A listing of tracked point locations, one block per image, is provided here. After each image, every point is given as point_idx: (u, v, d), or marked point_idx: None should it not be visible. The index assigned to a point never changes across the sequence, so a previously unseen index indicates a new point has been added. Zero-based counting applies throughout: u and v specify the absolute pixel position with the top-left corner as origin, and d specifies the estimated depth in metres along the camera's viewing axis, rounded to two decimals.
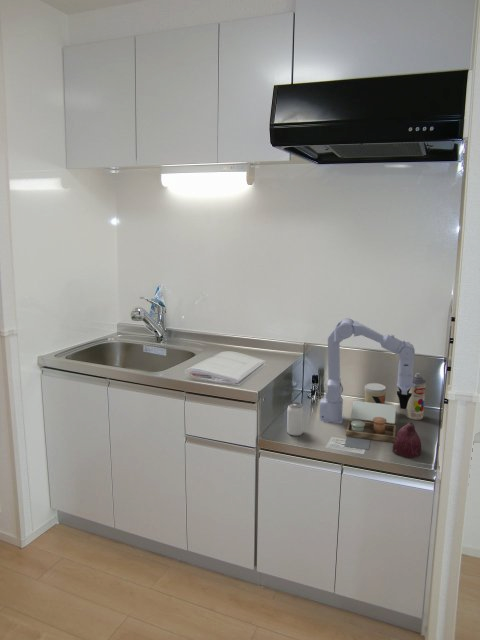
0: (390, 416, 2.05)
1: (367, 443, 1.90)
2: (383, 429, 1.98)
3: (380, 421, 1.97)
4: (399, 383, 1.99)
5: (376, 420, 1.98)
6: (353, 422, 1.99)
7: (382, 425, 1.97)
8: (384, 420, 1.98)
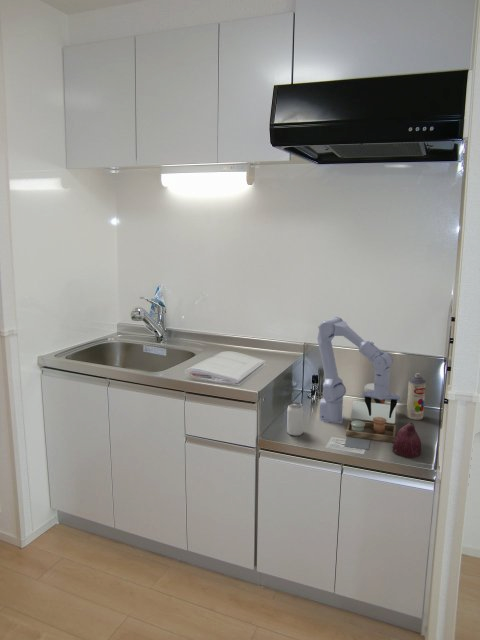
0: None
1: (367, 443, 1.90)
2: (383, 429, 1.98)
3: (380, 421, 1.97)
4: None
5: (376, 420, 1.98)
6: (353, 422, 1.99)
7: (382, 425, 1.97)
8: (384, 420, 1.98)
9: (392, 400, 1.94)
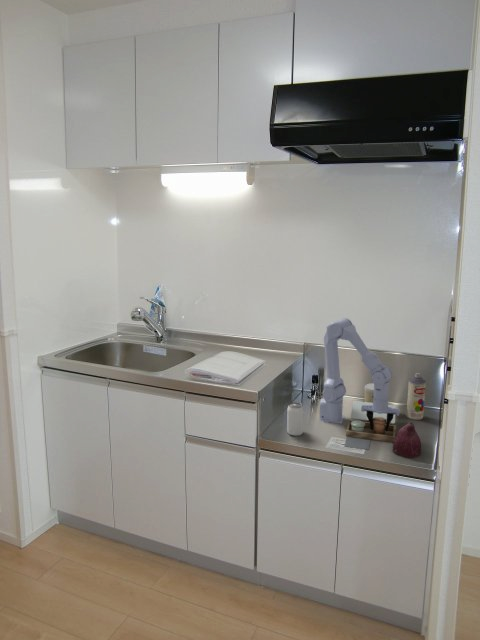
0: None
1: (367, 443, 1.90)
2: (383, 429, 1.98)
3: (380, 421, 1.97)
4: None
5: (376, 420, 1.98)
6: (353, 422, 1.99)
7: (382, 425, 1.97)
8: (384, 420, 1.98)
9: (391, 414, 1.96)
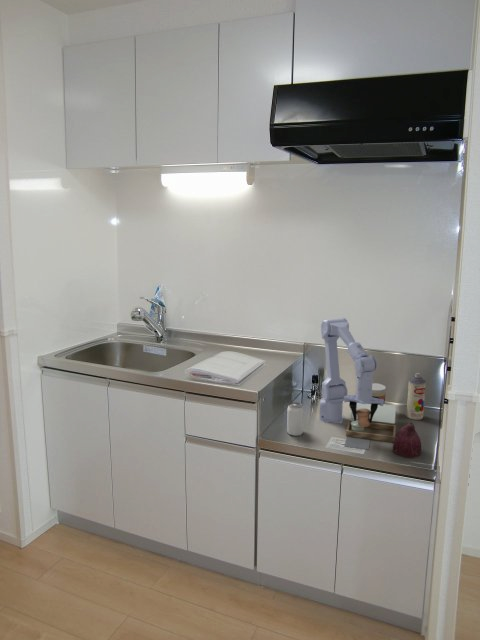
0: (390, 416, 2.05)
1: (367, 443, 1.90)
2: (367, 421, 1.89)
3: (363, 413, 1.89)
4: None
5: (359, 412, 1.90)
6: (353, 422, 1.99)
7: (366, 417, 1.88)
8: (368, 411, 1.89)
9: (375, 404, 1.87)
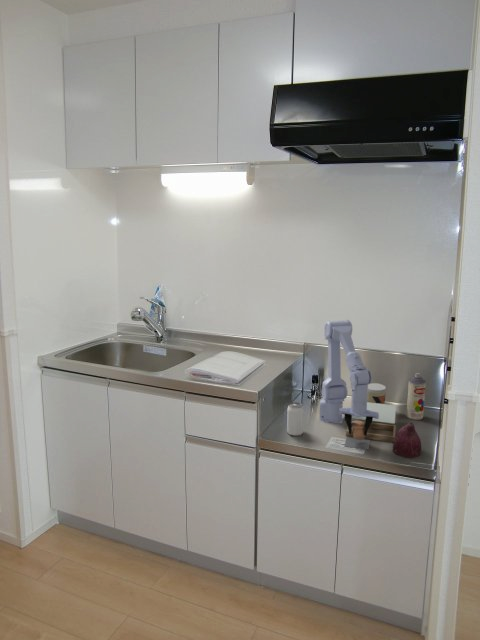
0: (390, 416, 2.05)
1: (367, 443, 1.90)
2: (362, 434, 1.88)
3: (358, 426, 1.88)
4: None
5: (354, 425, 1.89)
6: None
7: (360, 430, 1.88)
8: (363, 424, 1.88)
9: (370, 417, 1.86)
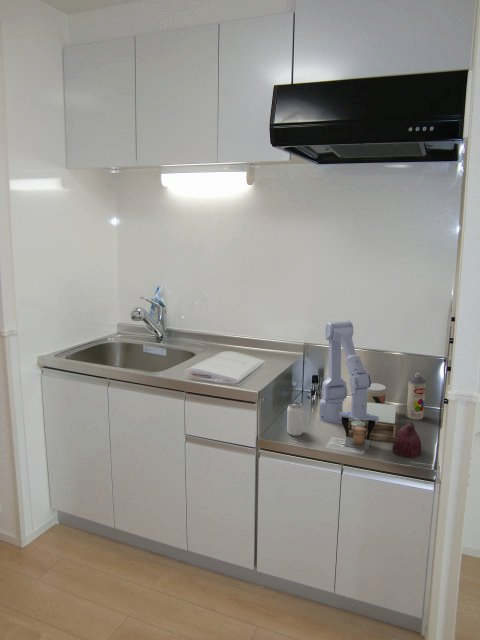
0: (390, 416, 2.05)
1: (367, 443, 1.90)
2: (362, 439, 1.89)
3: (359, 431, 1.88)
4: None
5: (355, 430, 1.89)
6: (353, 422, 1.99)
7: (361, 435, 1.88)
8: (364, 430, 1.89)
9: (370, 421, 1.87)
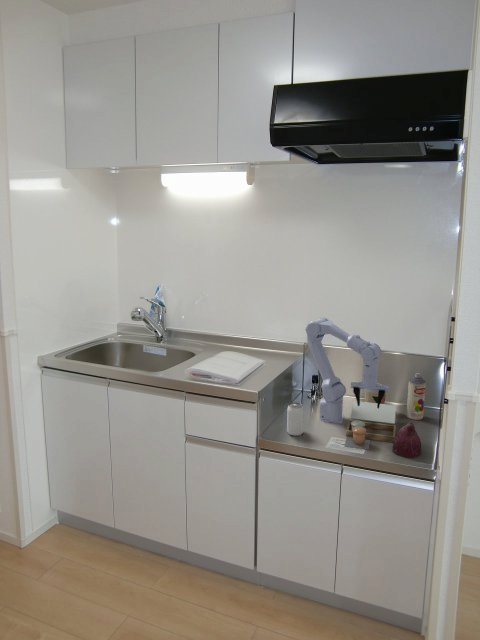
0: (390, 416, 2.05)
1: (367, 443, 1.90)
2: (362, 439, 1.89)
3: (359, 431, 1.88)
4: None
5: (355, 430, 1.89)
6: (353, 422, 1.99)
7: (361, 435, 1.88)
8: (364, 430, 1.89)
9: (380, 391, 1.97)
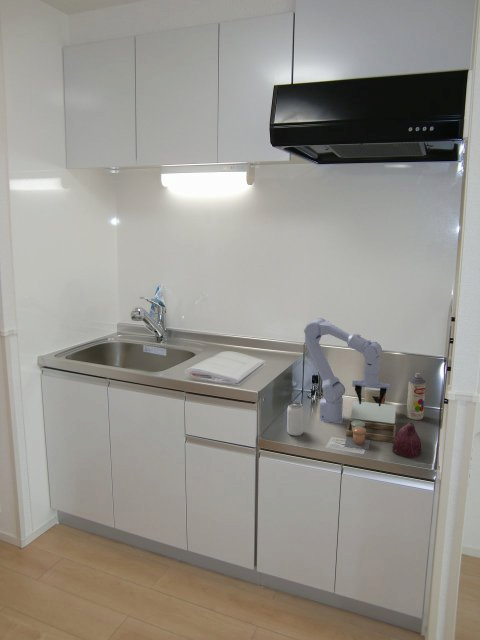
0: (390, 416, 2.05)
1: (367, 443, 1.90)
2: (362, 439, 1.89)
3: (359, 431, 1.88)
4: None
5: (355, 430, 1.89)
6: (353, 422, 1.99)
7: (361, 435, 1.88)
8: (364, 430, 1.89)
9: (381, 389, 1.99)
